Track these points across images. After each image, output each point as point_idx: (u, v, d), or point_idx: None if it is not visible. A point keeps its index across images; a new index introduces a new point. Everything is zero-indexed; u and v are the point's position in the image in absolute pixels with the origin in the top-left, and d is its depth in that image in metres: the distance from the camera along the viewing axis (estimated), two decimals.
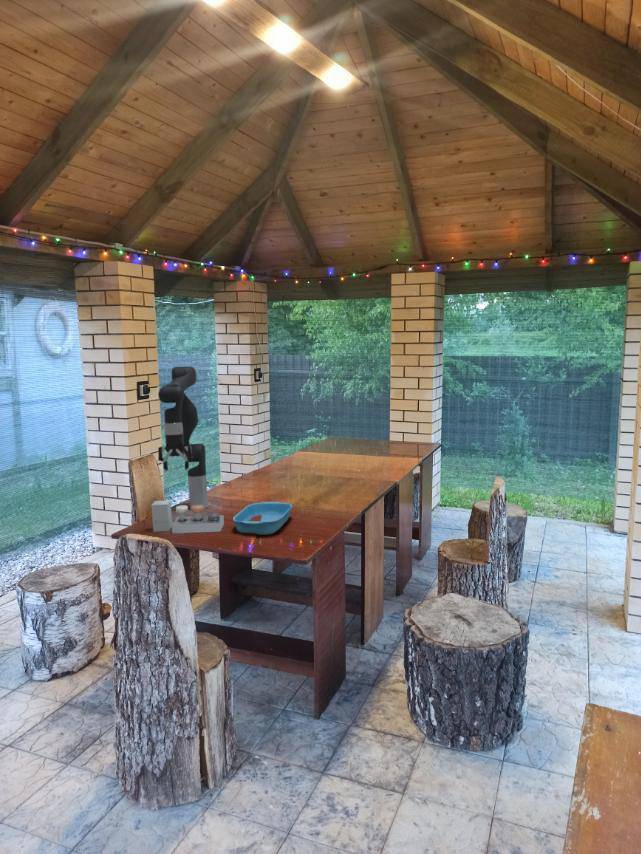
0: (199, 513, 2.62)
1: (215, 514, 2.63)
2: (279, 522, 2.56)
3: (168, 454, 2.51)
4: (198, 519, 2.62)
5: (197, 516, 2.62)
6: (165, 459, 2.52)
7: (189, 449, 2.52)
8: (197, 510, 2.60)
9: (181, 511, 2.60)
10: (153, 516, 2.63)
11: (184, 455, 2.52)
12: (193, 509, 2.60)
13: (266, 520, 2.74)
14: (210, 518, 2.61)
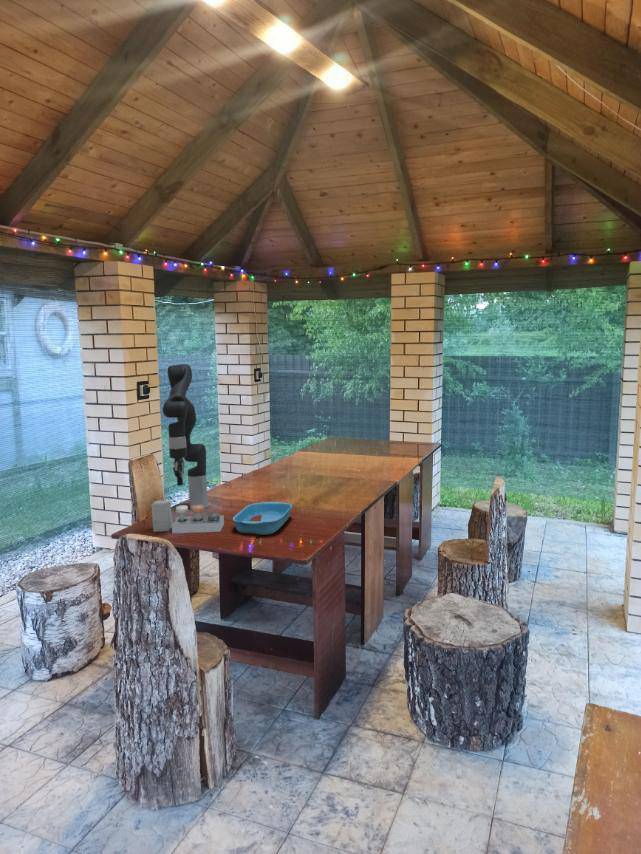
0: (199, 513, 2.62)
1: (215, 514, 2.63)
2: (279, 522, 2.56)
3: (182, 467, 2.59)
4: (198, 519, 2.62)
5: (197, 516, 2.62)
6: (182, 474, 2.60)
7: (184, 464, 2.65)
8: (197, 510, 2.60)
9: (181, 511, 2.60)
10: (153, 516, 2.63)
11: None
12: (193, 509, 2.60)
13: (266, 520, 2.74)
14: (210, 518, 2.61)
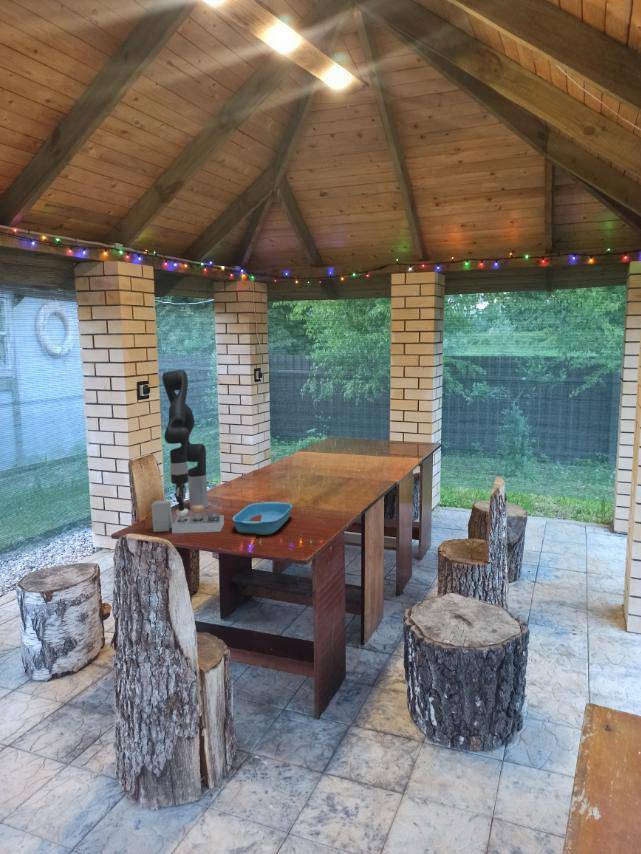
0: (199, 513, 2.62)
1: (215, 514, 2.63)
2: (278, 522, 2.56)
3: (183, 493, 2.60)
4: (198, 519, 2.62)
5: (197, 516, 2.62)
6: (183, 499, 2.62)
7: (185, 489, 2.67)
8: (197, 510, 2.60)
9: (181, 514, 2.60)
10: (153, 516, 2.63)
11: None
12: (193, 509, 2.60)
13: (266, 520, 2.74)
14: (210, 518, 2.61)
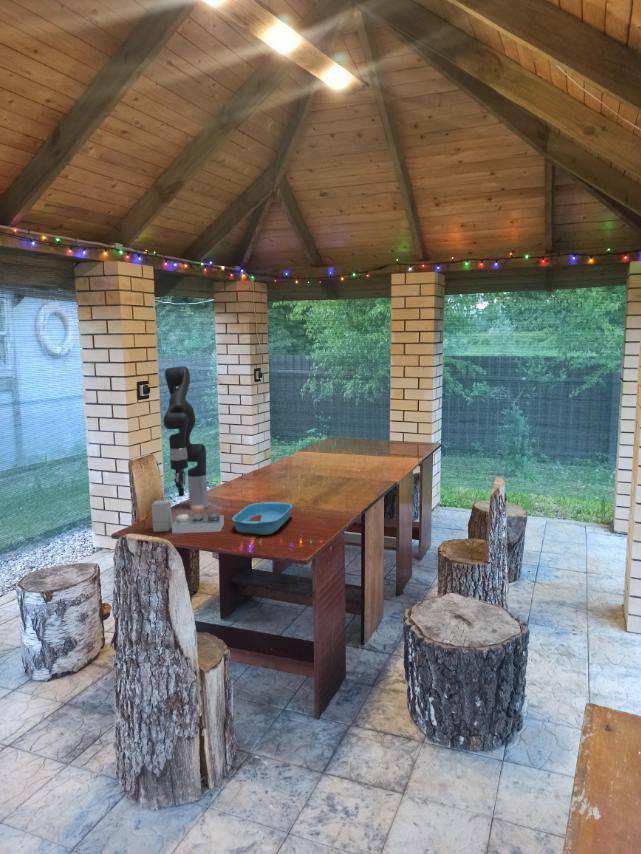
0: (199, 513, 2.62)
1: (215, 514, 2.63)
2: (278, 522, 2.56)
3: (183, 479, 2.60)
4: (198, 519, 2.62)
5: (197, 516, 2.62)
6: (183, 484, 2.61)
7: None
8: (197, 510, 2.60)
9: (182, 520, 2.61)
10: (153, 516, 2.63)
11: None
12: (193, 509, 2.60)
13: (266, 520, 2.74)
14: (210, 518, 2.61)
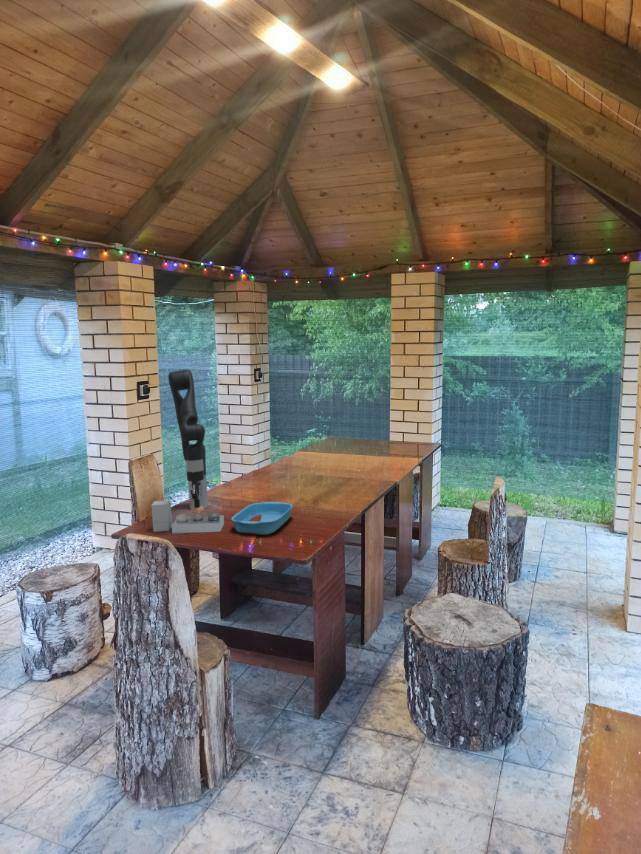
0: (199, 514, 2.62)
1: (215, 514, 2.63)
2: (277, 522, 2.55)
3: (199, 490, 2.60)
4: (198, 520, 2.62)
5: (198, 517, 2.62)
6: (199, 496, 2.62)
7: None
8: (197, 511, 2.60)
9: (182, 520, 2.61)
10: (153, 516, 2.63)
11: None
12: (193, 510, 2.61)
13: (266, 520, 2.74)
14: (210, 518, 2.61)
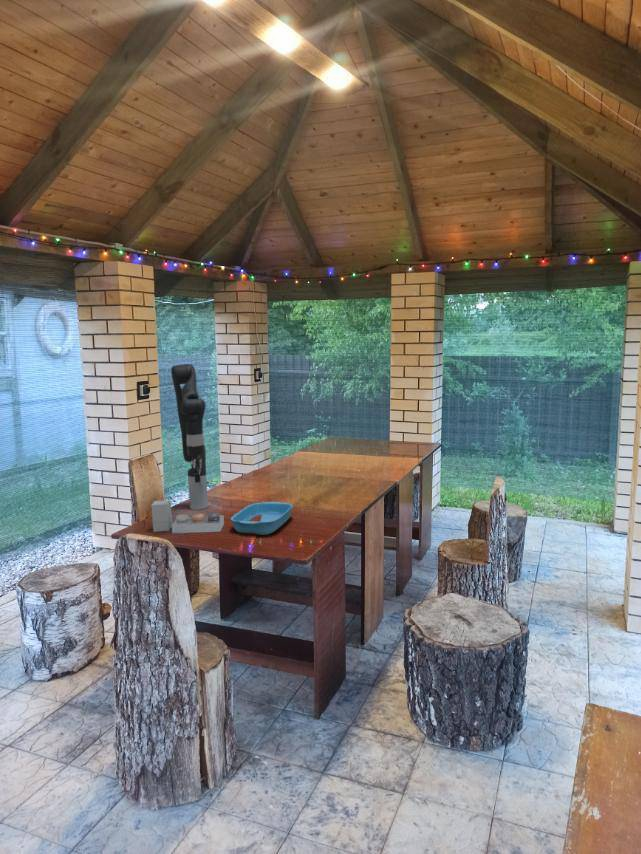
0: None
1: (215, 514, 2.63)
2: (276, 522, 2.55)
3: (200, 465, 2.60)
4: None
5: None
6: (199, 471, 2.61)
7: (201, 462, 2.66)
8: (198, 519, 2.61)
9: (182, 520, 2.61)
10: (153, 516, 2.63)
11: None
12: (194, 518, 2.61)
13: (266, 520, 2.74)
14: (210, 518, 2.61)
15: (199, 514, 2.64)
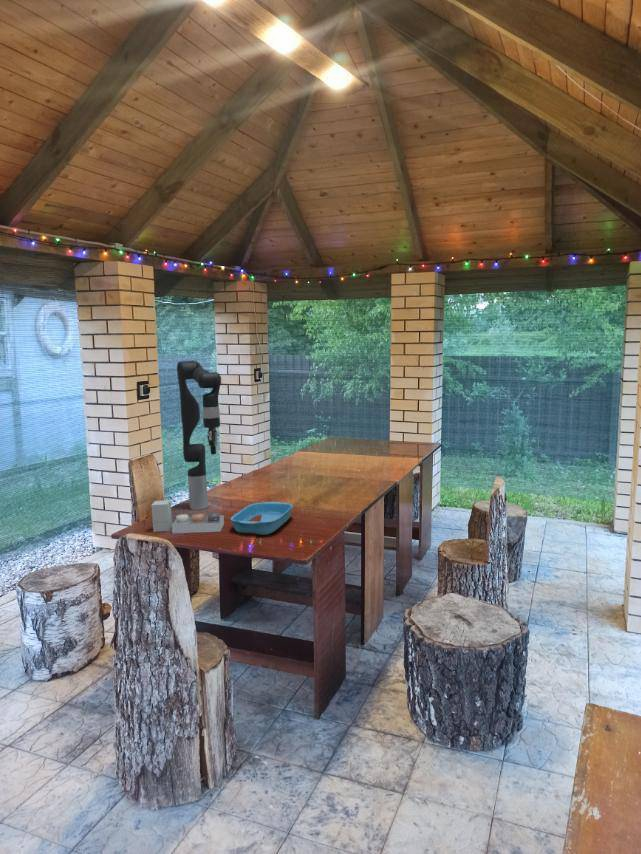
0: None
1: (215, 514, 2.63)
2: (276, 522, 2.55)
3: (215, 437, 2.67)
4: None
5: None
6: (215, 443, 2.68)
7: None
8: (198, 519, 2.61)
9: (182, 520, 2.61)
10: (153, 516, 2.63)
11: None
12: (194, 518, 2.61)
13: (266, 520, 2.74)
14: (210, 518, 2.61)
15: (199, 514, 2.64)
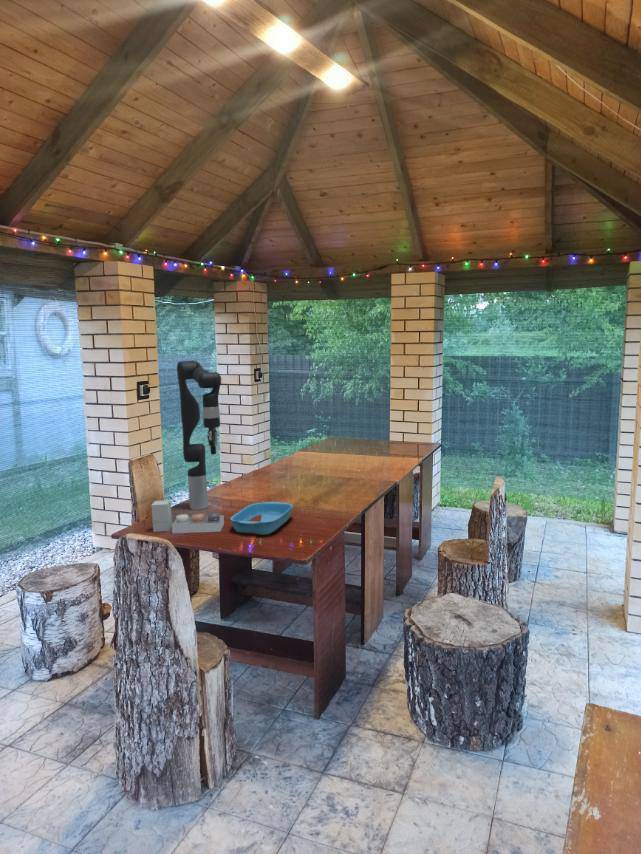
0: None
1: (215, 514, 2.63)
2: (276, 523, 2.55)
3: (215, 437, 2.67)
4: None
5: None
6: (215, 443, 2.68)
7: None
8: (198, 519, 2.61)
9: (182, 520, 2.61)
10: (153, 516, 2.63)
11: None
12: (194, 518, 2.61)
13: (266, 520, 2.74)
14: (210, 518, 2.61)
15: (199, 514, 2.64)
